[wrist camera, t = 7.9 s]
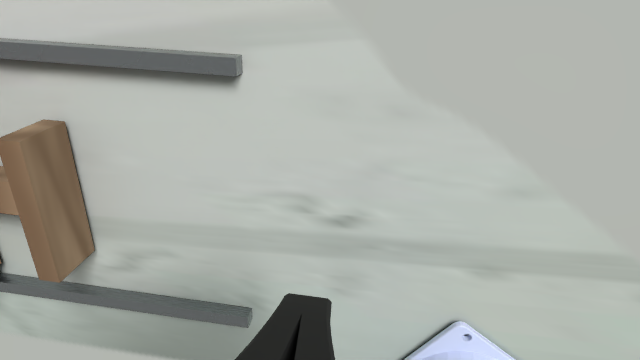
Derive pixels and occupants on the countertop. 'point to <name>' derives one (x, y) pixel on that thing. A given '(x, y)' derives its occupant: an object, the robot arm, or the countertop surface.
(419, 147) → the countertop surface
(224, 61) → the track
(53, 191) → the wooden frame
